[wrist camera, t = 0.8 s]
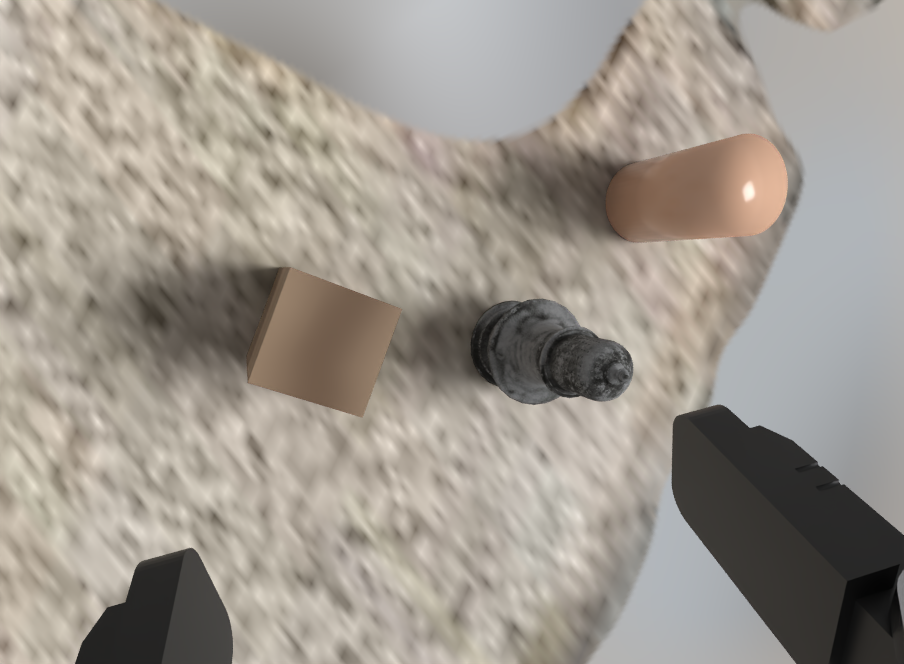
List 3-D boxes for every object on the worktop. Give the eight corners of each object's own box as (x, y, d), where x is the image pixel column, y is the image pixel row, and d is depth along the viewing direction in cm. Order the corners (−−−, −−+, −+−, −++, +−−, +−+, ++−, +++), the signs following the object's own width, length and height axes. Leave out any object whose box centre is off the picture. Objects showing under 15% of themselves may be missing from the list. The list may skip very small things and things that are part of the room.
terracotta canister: (592, 215, 39) (691, 200, 30) (629, 146, 39) (738, 112, 30) (649, 257, 40) (758, 254, 32) (685, 191, 41) (802, 171, 32)
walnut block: (246, 356, 33) (247, 382, 25) (279, 267, 33) (290, 267, 25) (336, 384, 35) (362, 417, 27) (367, 300, 35) (402, 309, 27)
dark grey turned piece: (449, 324, 36) (544, 349, 25) (532, 279, 38) (658, 284, 26) (490, 410, 38) (597, 471, 26) (568, 363, 39) (702, 402, 28)
